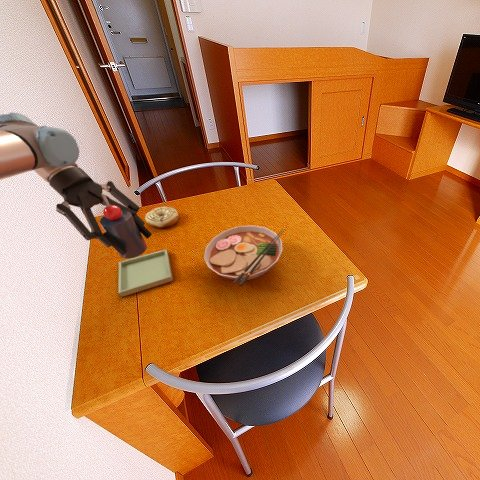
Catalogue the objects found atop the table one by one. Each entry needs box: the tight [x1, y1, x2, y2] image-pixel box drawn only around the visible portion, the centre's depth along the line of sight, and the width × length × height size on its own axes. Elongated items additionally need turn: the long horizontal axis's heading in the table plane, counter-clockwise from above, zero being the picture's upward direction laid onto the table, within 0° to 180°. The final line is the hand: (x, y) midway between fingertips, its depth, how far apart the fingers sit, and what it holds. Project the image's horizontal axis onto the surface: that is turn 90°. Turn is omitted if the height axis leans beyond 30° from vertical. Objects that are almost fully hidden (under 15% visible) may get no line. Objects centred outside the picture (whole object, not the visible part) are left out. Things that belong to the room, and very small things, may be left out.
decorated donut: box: [144, 206, 179, 229], centre depth 101 cm, size 10×11×4 cm
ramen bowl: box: [203, 224, 285, 287], centre depth 84 cm, size 25×23×8 cm
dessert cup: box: [99, 192, 148, 260], centre depth 70 cm, size 7×7×18 cm
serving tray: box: [117, 249, 174, 298], centre depth 82 cm, size 13×13×2 cm
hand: (137, 244), depth 73 cm, fingers closed on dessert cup, 7 cm apart
